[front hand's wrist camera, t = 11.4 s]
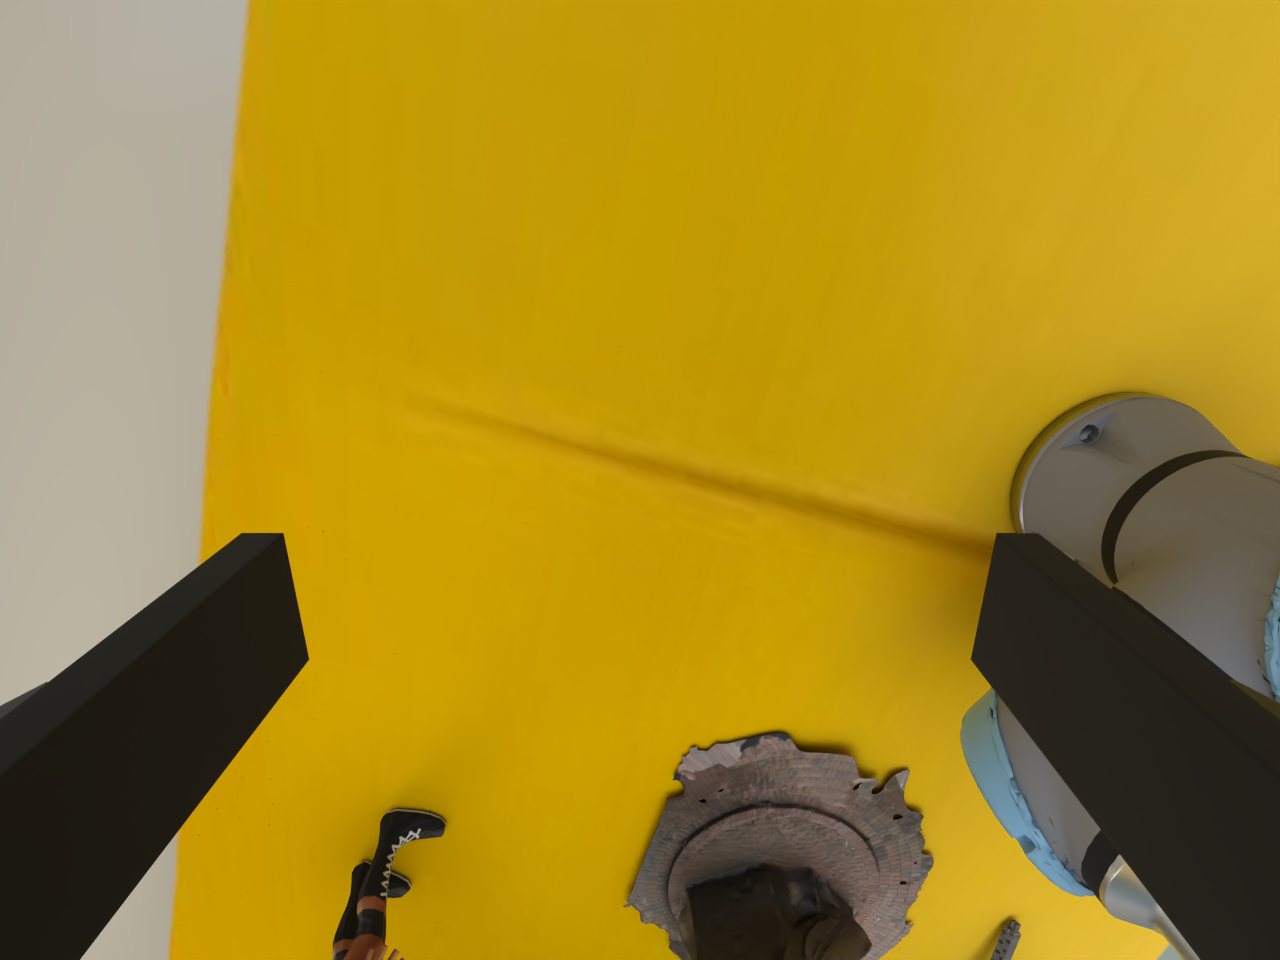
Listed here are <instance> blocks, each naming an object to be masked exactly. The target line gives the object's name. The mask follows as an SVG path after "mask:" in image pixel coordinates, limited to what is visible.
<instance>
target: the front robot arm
mask: <svg viewBox="0 0 1280 960" xmlns="http://www.w3.org/2000/svg"><path fill="white" fill-rule="evenodd" d="M1010 508H1011V516H1012V521H1013V525H1014V528H1015V530H1016V532H1017V533H997V534H996V539H995V544H994V549H993V554H992V559H991V563H990V568H989V573H988V578H987V583H986V588H985V593H984V598H983V603H982V608H981V613H980V617H979V622H978V627H977V632H976V637H975V642H974V647H973V652H972V657H971V660H972V662H973V663H974V664H975V665H976V667H977V668H978V669H979V671H980V672H981V673H982V675H983V676H984V677H985V679H986V680H987V681H988V683H989V684H990V685H991V686H992V687H991V689H990V690H989V691H988V692H987V693H986V694H985V695H984V696H983V697H981V698H980V699H979V700H978V701H977V702H976V703H975V704H974V705H973V706H972V707H971V708H970V709H969V710H968V711H967V712H966V714H965V716H964V717H963V720H962V728H961V731H960V739H961V745H962V749H963V753H964V756H965V759H966V762H967V764H968V767H969V769H970V772H971V774H972V776H973V778H974V780H975V782H976V784H977V786H978V788H979V789H980V791H981V793H982V795H983V796H984V798H985V800H986V801H987V803H988V805H989V806H990V808H991V809H992V811H993V813H994V814H995V816H996V817H997V819H998V820H999V822H1000V823H1001V825H1002V826H1003V827H1004V829H1005V830H1006V831H1007V833H1008V834H1009V835H1010V836H1011V837H1013V838H1015V839H1016V840H1018V841H1019V844H1020V846H1021V847H1022V849H1023V851H1024V853H1025V855H1026V856H1027V857H1028V858H1029V860H1030V861H1031V862H1032V863H1033V864H1034V865H1035V866H1036V867H1037V869H1038V870H1039V871H1040V872H1041V873H1043V874H1044V875H1045V876H1046V877H1047V878H1048V879H1049V880H1050V881H1051V882H1052V883H1054V884H1055V885H1056V886H1057V887H1059V888H1060V889H1062V890H1064V891H1066V892H1068V893H1070V894H1073V895H1076V896H1081V897H1082V896H1086V895H1088V896H1093V895H1096V897H1097V898H1098V899H1099V901H1100V902H1101V903H1102V905H1103V906H1104V907H1105V909H1106V910H1107V911H1108V912H1109V914H1111V915H1112V916H1114V917H1115V918H1117V919H1120V920H1123V921H1126V922H1129V923H1133V924H1136V925H1139V926H1142V927H1145V928H1149V929H1152V930H1154V931H1156V932H1158V933H1159V934H1161V935H1163V936H1164V937H1165V939H1166V940H1167V941H1168V942H1169V944H1170V945H1171V946H1172V947H1173V949H1174V950H1175V951H1176V952H1177V954H1178V955H1179V956H1180V957H1181V959H1182V960H1280V468H1277V467H1275V466H1272V465H1269V464H1267V463H1264V462H1261V461H1258V460H1255V459H1252V458H1250V457H1247V456H1245V455H1243V454H1242V453H1241V452H1240V451H1239V450H1238V449H1237V448H1236V447H1235V446H1234V445H1233V444H1232V443H1231V442H1230V441H1229V440H1228V439H1227V438H1226V437H1225V436H1224V435H1223V434H1221V433H1220V432H1219V431H1218V430H1217V429H1216V428H1215V427H1214V426H1213V425H1212V424H1211V423H1210V422H1209V421H1208V420H1207V419H1206V418H1205V417H1204V416H1203V415H1202V414H1200V413H1199V412H1198V411H1196V410H1195V409H1193V408H1191V407H1189V406H1187V405H1185V404H1182V403H1180V402H1177V401H1174V400H1171V399H1168V398H1165V397H1162V396H1158V395H1154V394H1149V393H1142V392H1123V393H1116V394H1110V395H1106V396H1102V397H1099V398H1096V399H1093V400H1090V401H1088V402H1085V403H1083V404H1081V405H1079V406H1077V407H1075V408H1073V409H1071V410H1070V411H1068V412H1066V413H1065V414H1063V415H1062V416H1061V417H1059V418H1058V419H1056V420H1055V421H1054V422H1053V423H1052V424H1050V425H1049V426H1048V427H1047V428H1046V429H1045V430H1044V431H1043V432H1042V433H1041V434H1040V435H1039V436H1038V437H1037V439H1036V440H1035V441H1034V442H1033V443H1032V445H1031V446H1030V448H1029V449H1028V450H1027V452H1026V453H1025V455H1024V457H1023V459H1022V460H1021V462H1020V465H1019V467H1018V469H1017V472H1016V474H1015V477H1014V481H1013V485H1012V489H1011V497H1010ZM308 660H309V657H308V652H307V647H306V642H305V637H304V632H303V627H302V622H301V617H300V613H299V608H298V603H297V598H296V593H295V588H294V583H293V578H292V573H291V568H290V563H289V559H288V554H287V549H286V544H285V539H284V534H283V533H241V534H240V535H239V536H237V537H236V538H235V539H233V540H232V541H231V542H230V543H228V544H227V545H226V546H224V547H223V548H222V549H221V550H219V551H218V552H217V553H215V554H214V555H213V556H211V557H210V558H209V559H208V560H206V561H205V562H204V563H202V564H201V565H200V566H198V567H197V568H196V569H195V570H193V571H192V572H191V573H189V574H188V575H187V576H186V577H184V578H183V579H182V580H180V581H179V582H178V583H176V584H175V585H174V586H173V587H171V588H170V589H169V590H167V591H166V592H165V593H163V594H162V595H161V596H160V597H158V598H157V599H156V600H154V601H153V602H152V603H150V604H149V605H148V606H147V607H145V608H144V609H143V610H141V611H140V612H139V613H137V614H136V615H135V616H134V617H132V618H131V619H130V620H128V621H127V622H126V623H125V624H123V625H122V626H121V627H119V628H118V629H117V630H116V631H114V632H113V633H112V634H110V635H109V636H108V637H106V638H105V639H104V640H102V641H101V642H100V643H99V644H97V645H96V646H95V647H93V648H92V649H91V650H89V651H88V652H87V653H86V654H84V655H83V656H82V657H80V658H79V659H78V660H77V661H75V662H74V663H73V664H71V665H70V666H69V667H68V668H66V669H65V670H64V671H62V672H61V673H60V674H58V675H57V676H56V677H55V678H53V679H52V680H51V681H49V682H46V683H44V684H42V685H40V686H38V687H36V688H34V689H32V690H30V691H28V692H26V693H25V694H23V695H21V696H19V697H17V698H15V699H13V700H11V701H9V702H7V703H5V704H3V705H1V706H0V960H80V959H81V957H82V956H83V955H84V954H85V952H86V951H87V950H88V948H89V947H90V946H91V944H92V943H93V942H94V940H95V939H96V938H97V937H98V935H99V934H100V933H101V931H102V930H103V929H104V927H105V926H106V925H107V923H108V922H109V921H110V919H111V918H112V917H113V916H114V914H115V913H116V912H117V910H118V909H119V908H120V906H121V905H122V904H123V902H124V901H125V900H126V899H127V897H128V896H129V895H130V893H131V892H132V891H133V889H134V888H135V887H136V885H137V884H138V883H139V882H140V880H141V879H142V878H143V876H144V875H145V874H146V872H147V871H148V870H149V868H150V867H151V866H152V865H153V863H154V862H155V861H156V859H157V858H158V857H159V855H160V854H161V853H162V851H163V850H164V849H165V848H166V846H167V845H168V843H169V842H170V841H171V840H172V838H173V837H174V836H175V834H176V833H177V832H178V830H179V829H180V828H181V827H182V825H183V824H184V823H185V821H186V820H187V819H188V817H189V816H190V815H191V813H192V812H193V811H194V810H195V808H196V807H197V806H198V804H199V803H200V802H201V800H202V799H203V798H204V796H205V795H206V794H207V793H208V791H209V790H210V789H211V787H212V786H213V785H214V783H215V782H216V781H217V779H218V778H219V777H220V775H221V774H222V773H223V772H224V770H225V769H226V768H227V766H228V765H229V764H230V762H231V761H232V760H233V758H234V757H235V756H236V755H237V753H238V752H239V751H240V749H241V748H242V747H243V745H244V744H245V743H246V741H247V740H248V739H249V738H250V736H251V735H252V734H253V732H254V731H255V730H256V728H257V727H258V726H259V724H260V723H261V722H262V720H263V719H264V718H265V717H266V715H267V714H268V713H269V711H270V710H271V709H272V707H273V706H274V705H275V703H276V702H277V701H278V700H279V698H280V697H281V696H282V694H283V693H284V692H285V690H286V689H287V688H288V686H289V685H290V684H291V683H292V681H293V680H294V679H295V677H296V676H297V675H298V673H299V672H300V671H301V669H302V668H303V667H304V665H305V664H306V663H307V662H308Z"/></svg>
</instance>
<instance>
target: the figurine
mask: <svg viewBox="0 0 1280 960" xmlns="http://www.w3.org/2000/svg"><path fill="white" fill-rule="evenodd" d="M445 825H446V822H445V821H444V820H443V819H442V818H441V817H439V816H437V815H435V814H432V813H429V812H424V811H418V810H406V809H394V810H391V811H388V812H387V813H386V814H385V815H384V816H383V818H382V820H381V822H380V835H379V843H378V847H377V850H376V853H375V856H374V859H373V861H372V863H370V862H368V861H366V860H365V861H363V862H361V863H359V864H358V865H357V866H356V867H355V868H354V870H353V872H352V884H351V894H350V897H349V901H348V904H347V907H346V909H345V911H344V913H343V916H342V918H341V920H340V923H339V926H338V928H337V931H336V934H335V937H334V941H333V960H383V956H384V954H385V952H386V950H387V948H388V946H386V945H385V938H386V901H387V897H388V898H398V897H402V896H403V895H404V894H406V893H407V892H408V891H409V890H410V888H411V884H410V882H409V880H407V879H406V878H404V877H402V876H400V875H398V874H396V873H393V872H391V867H392V863H393V860H394V857H395V854H396V851H397V850H398V849H399V848H400V847H401V846H402V845H404V844H405V843H406V842H409V841H413V840H416V839H425V838H434V837H442V835H443V834H444V831H445ZM398 953H399V951H398V950H397V949H394V950H393V952H392V953H391V955H390V957H389V958H388V960H395V959H396V957H397V955H398ZM400 960H404V958H401V959H400Z"/></svg>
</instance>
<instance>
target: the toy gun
mask: <svg viewBox="0 0 1280 960" xmlns="http://www.w3.org/2000/svg"><path fill="white" fill-rule="evenodd" d="M1020 926H1021V925H1020V924H1019V923H1018V922H1017V921H1015V920H1011V921H1010V923H1009V925H1005V926H1004V928H1003V930H1002V933H1001V935H1000V938H999V940H998V942H997V945H996V947H995V950H994V952H993V954H992V957H991V959H990V960H1011V958H1012V955H1013V953H1014V950H1015V948H1016V946H1017V943H1018V941H1019V938H1020V936H1021V934H1020V933H1019V932H1018V931H1019V929H1020Z"/></svg>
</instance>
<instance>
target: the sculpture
mask: <svg viewBox="0 0 1280 960" xmlns="http://www.w3.org/2000/svg"><path fill="white" fill-rule="evenodd" d="M689 751H690V752H689V753H688V755H687V756H686V757H684V756H682V758H683V760H682V761H683V763H682V764H681V765H679V768H678V772H677V773H675V775H674V779H673V780H678V781H680V782H681V784H682V785H683V787H684V794H683V795H681V796H677V797H672V798H667V799H666V800H667V801H668V802H666V803H667V805H666V808H664V811H663V813H662V816H661V820H660V822H659V824H658V825H659V826H658V827H657V828H656V831H655V833H656V834H654V836H653V839H652V841H651V844H650V846H649V848H648V850H647V853H646V856H645V857H644V860H643V863H644V865H641V868H640V869H639V873H638V875H637V879H636V881H635V883H634V884H635V886H634V888H633V890H632V892H631V893H630V895H629V897H628V899H627V902H628V904H626V906H625V905H624V906H623V907H629V906H631V905H632V906H633V907H634V908H635V909H636V910H638V911H639V912H640V919H641V921H642V922H643V923H646V924H649V923H653V924H656V925H657V926H658V927H659V928H661V929H665V930H666V931H667V932H668V933H669V939H670V941H671V942H670V945H669V949H671V951H672V952H674V953H675V954H676V955H678V956H679V957H680V958H681V959H682V960H878V958H879V959H880V957H882V956H883V955H884V954H885V953H887V952H888V951H889V950H890V949H891V948H892V947H894V946H895V945H897V944H898V943H899V941H901V940H902V938H903V937H905V936H906V935H907V934H909V931H910V928H911V927H912V926H913V924H914V923H913V924H909V925H906V924H905V920H906V914H907V910H908V908H909V907H910V906H911V905H912V904H913V903H914V902H915V901H916V898H917V897H918V895H917V892H918V891H920V890H921V885H922V884H923V882H924V880H925V879H926V877H927V876H928V874H927V873H928V872H929V871H930V870H931V869H930V868H932V866H933V863H934V861H933V858H932V856H931V855H924V854H923V853H922V852H921V851H922V849H923V847H924V844H925V840H924V838H923V836H922V835H921V834H920V833H919V832H918V831H920V830H922V829H921V827H920V823H921V821H922V819H923V817H924V816H923V815H922V814H921V813H918V812H912V811H910V810H909V809H908V808H907V807H906V805H905V802H904V787H905V784H906V781H907V778H908V775H909V770H905V771H902V772H900V773H898V774H896V775H894V776H893V777H891V779H890V780H889V781H888V782H887V784H886V785H885V786H884V789H883V790H882V791H881V792H880V793H878V794H872V793H871V791H872V789H873V788H874V787H876V786H877V785H878V784H879V781H878V780H877V779H874V778H869V779H864V778H861V777H859V775H858V769H857V765H856V761H855V759H854V758H853V757H851V756H847V755H839V754H831V753H809V752H803V751H800V750H798V749H797V748H796V746H795V745H794V743H793V741H792V740H791V738H790V737H789V736H788V735H786V734H783V733H773V734H767V735H762V736H757V737H753V738H749V739H745V740H741V741H737V742H733V743H728V744H715V745H714V746H713V747H712V748H710V749H709V750H708V751H701V750H698V749H697V747H694V748H691V749H690V750H689ZM873 781H874V782H873ZM860 782H862V784H860V785H859V788H858V789H857V790H853V788H854V786H855V785H857V784H858V783H860ZM720 789H724V790H723V791H722V792H718V791H719V790H720ZM702 799H705V800H706V803H701V802H699V800H702ZM895 814H900V815H902V816H903V818H901V819H898V820H894V819H893V816H894V815H895ZM914 862H917V864H914ZM901 881H906V882H907V884H904V885H901V884H900V882H901ZM643 908H644V909H643ZM647 917H650V918H647Z"/></svg>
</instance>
